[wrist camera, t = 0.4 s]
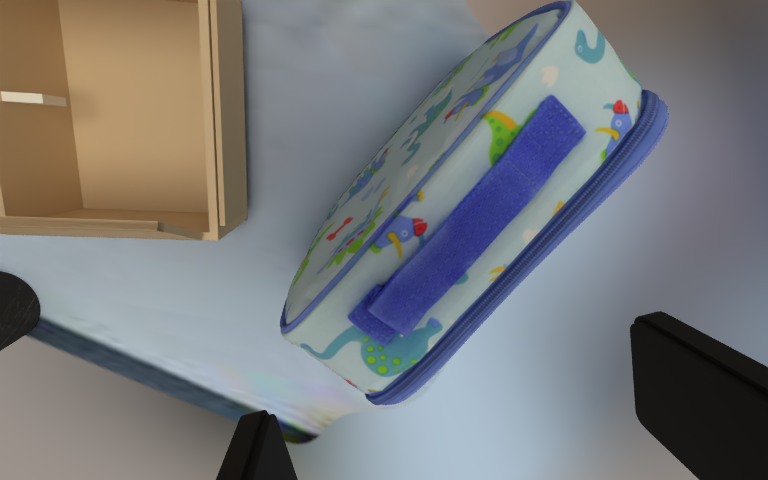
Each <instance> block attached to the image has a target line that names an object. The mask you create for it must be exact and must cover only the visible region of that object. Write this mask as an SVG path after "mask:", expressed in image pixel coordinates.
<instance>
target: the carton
mask: <svg viewBox="0 0 768 480" xmlns="http://www.w3.org/2000/svg"><path fill="white" fill-rule="evenodd" d="M0 216H14V217H44V218H74V219H104V220H134V221H159V222H162V223H165V224H169V225H172V226H176V227H180V228H183V229H187V230H191V231H195V232H198V233H202V240H220V239H221V238H222V237H224V236H225V235H226V234H228V233H229V232H230V231H232V230H233V229H235V228H236V227H237V226H239V225H240V224H241V223H243V222H244V221H246V220H247V178H246V142H245V105H244V68H243V32H242V2H241V0H0Z"/></svg>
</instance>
